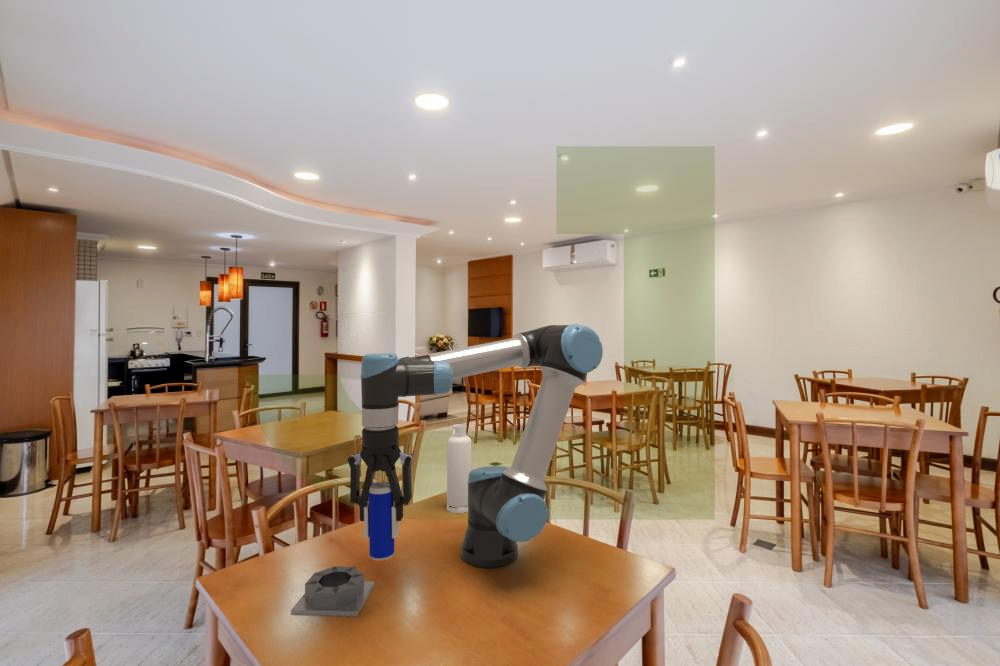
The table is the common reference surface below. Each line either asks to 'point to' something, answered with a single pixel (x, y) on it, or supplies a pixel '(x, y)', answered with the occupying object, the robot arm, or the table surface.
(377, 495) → the beverage can
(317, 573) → the socket
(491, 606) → the table surface
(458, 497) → the bottle
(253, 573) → the table surface
